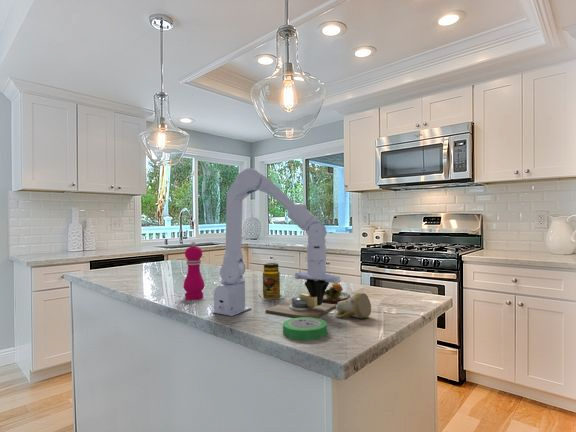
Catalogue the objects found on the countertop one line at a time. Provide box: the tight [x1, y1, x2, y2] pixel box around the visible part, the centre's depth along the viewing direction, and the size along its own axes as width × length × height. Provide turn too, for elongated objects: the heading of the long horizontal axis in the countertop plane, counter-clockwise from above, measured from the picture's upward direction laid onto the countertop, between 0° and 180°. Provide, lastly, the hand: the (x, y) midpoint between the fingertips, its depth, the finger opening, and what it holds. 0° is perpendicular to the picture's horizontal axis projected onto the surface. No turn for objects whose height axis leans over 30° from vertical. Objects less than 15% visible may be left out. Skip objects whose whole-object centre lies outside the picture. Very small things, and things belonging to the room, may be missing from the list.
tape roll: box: [282, 317, 328, 341], centre depth 93 cm, size 11×11×3 cm
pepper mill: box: [183, 241, 205, 301], centre depth 131 cm, size 7×7×20 cm
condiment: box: [259, 262, 285, 301], centre depth 132 cm, size 7×8×12 cm
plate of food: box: [322, 279, 351, 304], centre depth 127 cm, size 12×12×8 cm
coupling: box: [291, 293, 317, 308], centre depth 113 cm, size 9×6×4 cm, turn 42°
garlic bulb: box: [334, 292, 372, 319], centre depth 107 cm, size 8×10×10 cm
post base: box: [265, 298, 337, 319], centre depth 114 cm, size 16×16×1 cm
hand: (317, 304), depth 113 cm, fingers closed
